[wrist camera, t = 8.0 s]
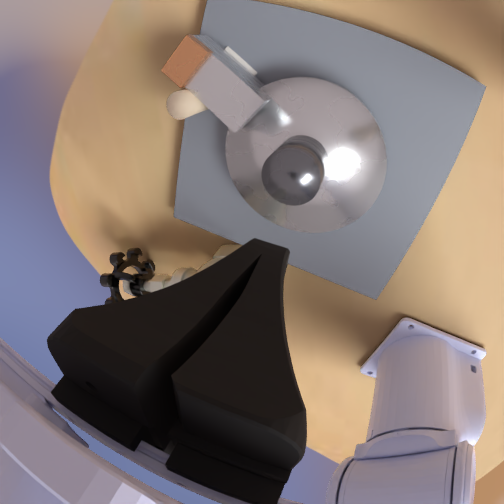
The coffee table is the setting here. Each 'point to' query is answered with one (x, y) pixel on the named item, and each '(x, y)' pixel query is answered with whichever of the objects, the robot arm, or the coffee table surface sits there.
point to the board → (371, 94)
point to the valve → (148, 273)
